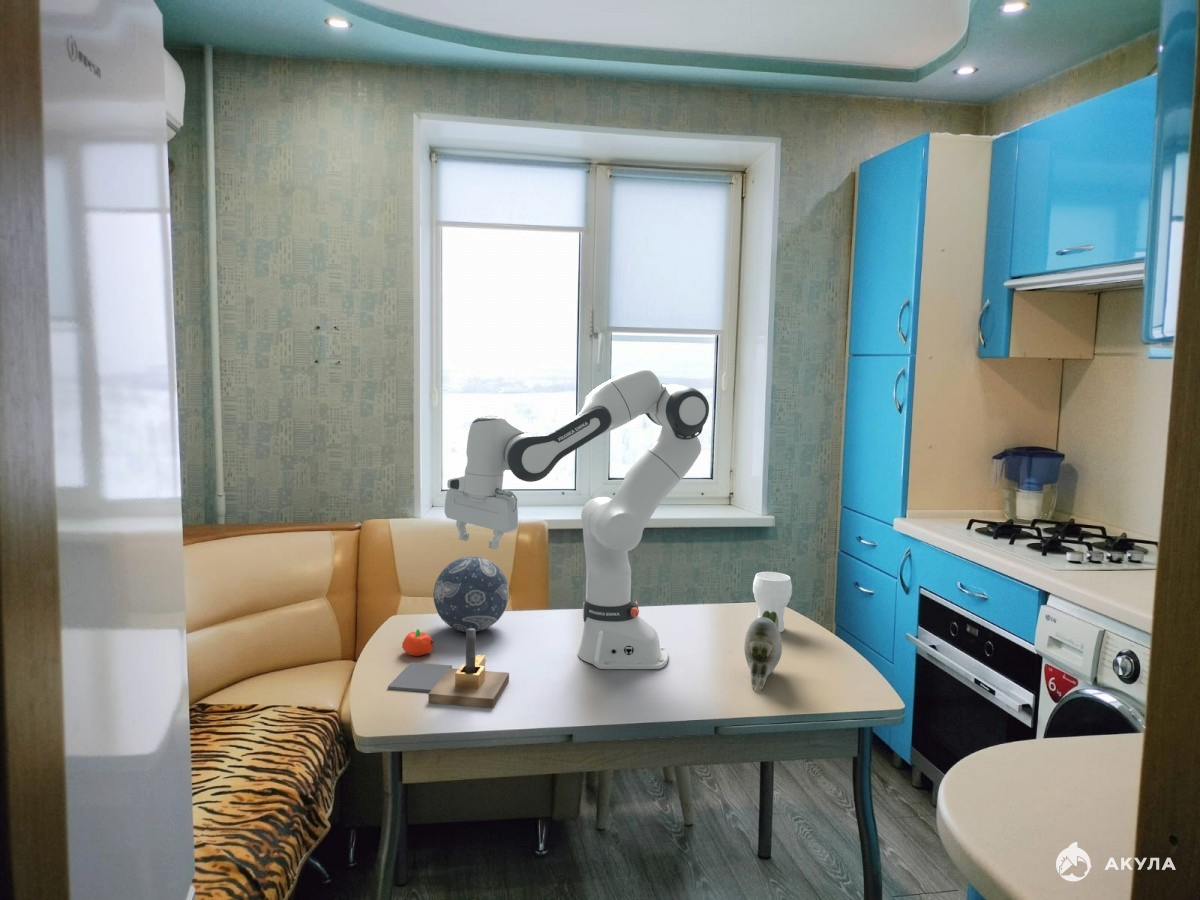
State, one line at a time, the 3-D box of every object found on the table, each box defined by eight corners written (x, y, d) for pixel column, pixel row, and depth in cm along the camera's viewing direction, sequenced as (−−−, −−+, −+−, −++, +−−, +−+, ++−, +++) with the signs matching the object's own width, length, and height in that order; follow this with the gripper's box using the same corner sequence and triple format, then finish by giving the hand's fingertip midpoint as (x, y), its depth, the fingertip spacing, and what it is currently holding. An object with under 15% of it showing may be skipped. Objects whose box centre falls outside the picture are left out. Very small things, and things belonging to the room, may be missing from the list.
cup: (793, 635, 211) (796, 582, 209) (754, 634, 211) (757, 580, 209) (784, 622, 221) (787, 571, 219) (747, 621, 221) (750, 570, 220)
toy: (776, 695, 172) (785, 660, 191) (779, 629, 170) (788, 601, 189) (738, 689, 175) (750, 655, 194) (740, 624, 173) (753, 597, 192)
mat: (451, 667, 182) (451, 665, 181) (431, 692, 168) (431, 689, 168) (411, 664, 183) (411, 662, 183) (387, 688, 169) (387, 686, 169)
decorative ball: (516, 621, 216) (517, 551, 214) (496, 646, 196) (497, 569, 194) (448, 615, 219) (448, 546, 217) (421, 640, 199) (422, 564, 197)
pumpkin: (421, 646, 195) (421, 621, 194) (438, 654, 189) (438, 629, 189) (396, 652, 190) (395, 627, 189) (413, 662, 184) (413, 636, 184)
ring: (492, 668, 177) (492, 656, 176) (478, 688, 166) (478, 675, 165) (470, 666, 177) (470, 654, 177) (455, 686, 166) (455, 673, 166)
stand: (508, 681, 175) (509, 621, 173) (493, 708, 161) (494, 643, 160) (449, 676, 176) (449, 617, 175) (428, 702, 163) (428, 638, 161)
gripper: (526, 491, 175) (521, 551, 176) (461, 478, 186) (457, 534, 187) (508, 493, 169) (502, 555, 171) (442, 479, 181) (437, 537, 182)
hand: (478, 544), depth 179 cm, fingers open, 8 cm apart
